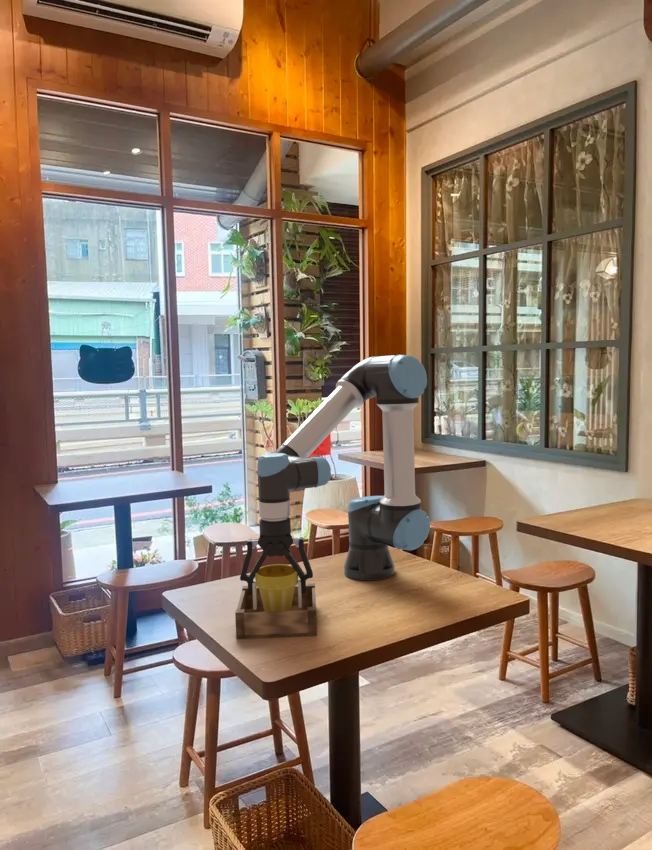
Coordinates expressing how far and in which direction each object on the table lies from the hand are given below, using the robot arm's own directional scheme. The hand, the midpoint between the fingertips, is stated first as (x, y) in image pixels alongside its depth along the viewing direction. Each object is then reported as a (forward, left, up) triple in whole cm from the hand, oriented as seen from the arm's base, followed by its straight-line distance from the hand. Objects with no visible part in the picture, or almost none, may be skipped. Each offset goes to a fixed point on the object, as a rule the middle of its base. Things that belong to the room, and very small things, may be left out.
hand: (277, 606), depth 158 cm
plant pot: (0, 0, -1) cm, 1 cm away
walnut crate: (0, 0, -4) cm, 4 cm away
